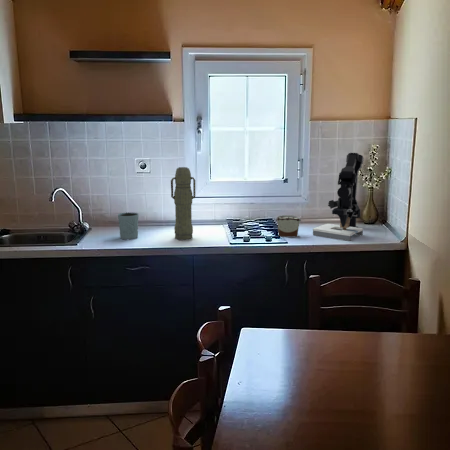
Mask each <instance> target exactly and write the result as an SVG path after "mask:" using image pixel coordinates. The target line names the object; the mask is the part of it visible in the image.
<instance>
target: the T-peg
mask: <svg viewBox="0 0 450 450" xmlns="http://www.w3.org/2000/svg"><path fill="white" fill-rule="evenodd" d="M349 224H350V217H348V218H347V221H346V224H345V226H344V227H342V225H341V221H340V220H339V225H340V227H341V228H343V230H346V228H348V227H349Z"/></svg>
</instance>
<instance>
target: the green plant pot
mask: <svg viewBox="0 0 450 450" xmlns="http://www.w3.org/2000/svg"><path fill="white" fill-rule="evenodd" d="M139 215H140V214H139V213H138V212H121V213H118V214H117V218H118V227H119V236H120V237H119V238H120V239H121V240H125V241H126V240H128V241H130V240H133V241H134V240H137V239H138V238H139Z"/></svg>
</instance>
